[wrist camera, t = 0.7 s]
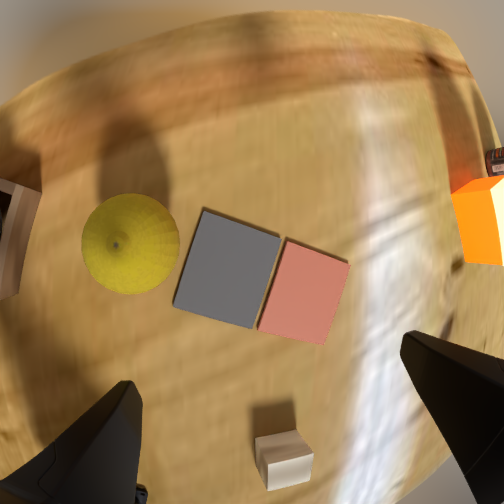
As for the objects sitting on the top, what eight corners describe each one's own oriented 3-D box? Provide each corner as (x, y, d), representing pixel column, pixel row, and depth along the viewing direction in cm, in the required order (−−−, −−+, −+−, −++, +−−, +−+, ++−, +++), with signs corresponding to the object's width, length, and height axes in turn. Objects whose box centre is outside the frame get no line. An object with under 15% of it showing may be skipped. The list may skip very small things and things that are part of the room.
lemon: (102, 206, 18) (59, 186, 10) (178, 201, 19) (178, 176, 12) (106, 284, 18) (66, 311, 10) (182, 280, 20) (185, 305, 12)
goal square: (322, 343, 23) (323, 345, 22) (257, 329, 21) (258, 330, 21) (348, 264, 23) (350, 265, 23) (286, 241, 21) (287, 241, 21)
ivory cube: (293, 456, 23) (309, 480, 19) (255, 464, 22) (267, 491, 18) (296, 428, 23) (314, 453, 19) (254, 437, 22) (268, 464, 18)
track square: (250, 327, 21) (252, 329, 21) (173, 305, 19) (172, 306, 19) (280, 238, 21) (281, 239, 21) (203, 211, 20) (203, 210, 19)
